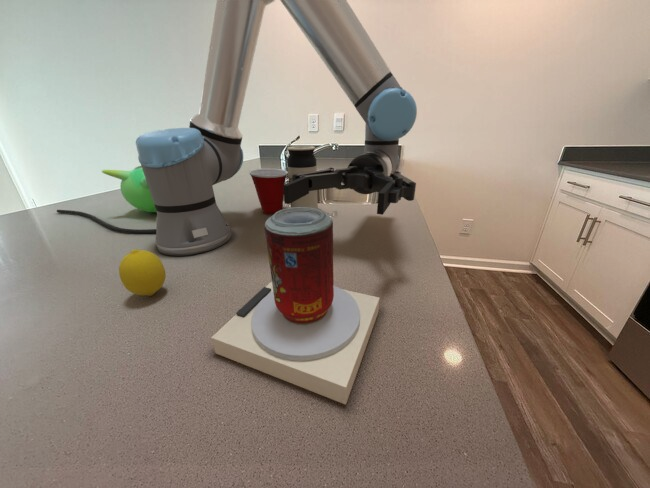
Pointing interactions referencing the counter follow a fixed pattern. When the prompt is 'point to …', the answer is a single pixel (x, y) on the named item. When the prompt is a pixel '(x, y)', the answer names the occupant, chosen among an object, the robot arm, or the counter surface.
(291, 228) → the soda can
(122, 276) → the lemon
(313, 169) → the travel mug
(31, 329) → the counter surface
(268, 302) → the kitchen scale
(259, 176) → the plastic cup
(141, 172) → the toy bird
